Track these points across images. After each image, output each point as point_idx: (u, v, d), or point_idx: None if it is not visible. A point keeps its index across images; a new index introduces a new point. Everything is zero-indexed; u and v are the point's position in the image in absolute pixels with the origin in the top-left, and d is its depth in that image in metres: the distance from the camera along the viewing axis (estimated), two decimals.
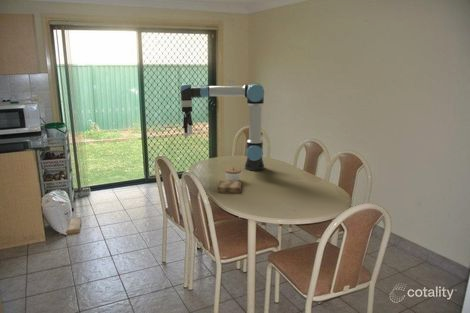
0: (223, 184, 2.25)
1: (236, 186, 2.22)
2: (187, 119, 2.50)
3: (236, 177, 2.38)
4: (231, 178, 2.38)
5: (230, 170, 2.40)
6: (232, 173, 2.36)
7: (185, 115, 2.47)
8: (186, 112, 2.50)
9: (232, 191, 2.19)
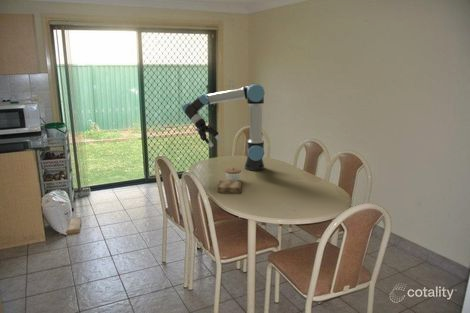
0: (223, 184, 2.25)
1: (236, 186, 2.22)
2: (203, 131, 2.44)
3: (236, 177, 2.38)
4: (231, 178, 2.38)
5: (230, 170, 2.40)
6: (232, 173, 2.36)
7: (198, 129, 2.42)
8: (199, 126, 2.45)
9: (232, 191, 2.19)
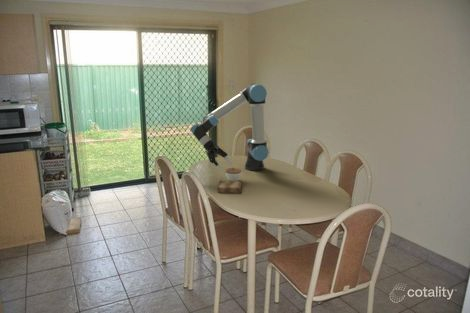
0: (223, 184, 2.25)
1: (236, 186, 2.22)
2: (212, 153, 2.40)
3: (236, 177, 2.38)
4: (231, 178, 2.38)
5: (230, 170, 2.40)
6: (232, 173, 2.36)
7: (207, 151, 2.38)
8: (208, 148, 2.41)
9: (232, 191, 2.19)
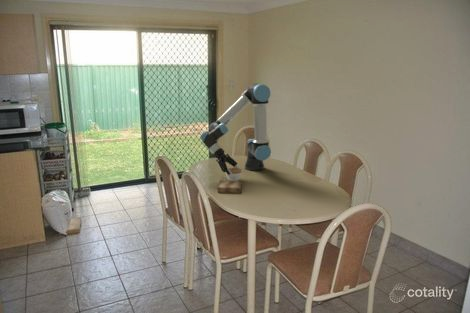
0: (223, 184, 2.25)
1: (236, 186, 2.22)
2: (223, 161, 2.39)
3: (236, 177, 2.38)
4: None
5: (230, 170, 2.40)
6: (232, 173, 2.36)
7: (217, 159, 2.37)
8: (218, 156, 2.40)
9: (232, 191, 2.19)
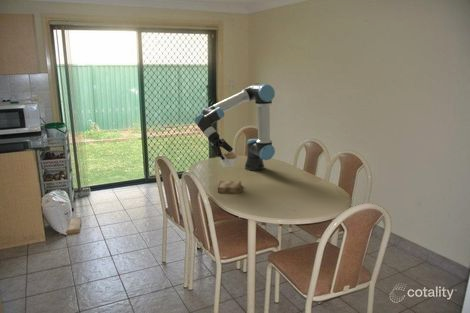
0: (223, 184, 2.25)
1: (236, 186, 2.22)
2: (217, 146, 2.26)
3: (231, 163, 2.25)
4: None
5: (225, 155, 2.27)
6: None
7: (212, 144, 2.24)
8: (212, 140, 2.27)
9: (232, 191, 2.19)
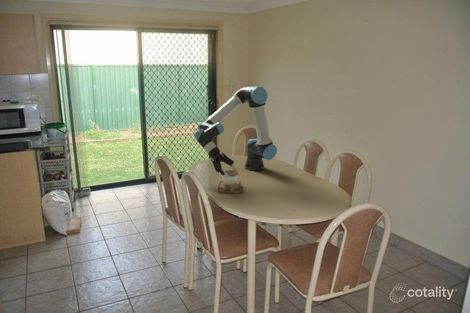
0: (223, 184, 2.25)
1: (236, 186, 2.22)
2: (218, 161, 2.21)
3: (233, 180, 2.21)
4: (227, 181, 2.21)
5: (226, 172, 2.23)
6: None
7: (212, 159, 2.20)
8: (213, 155, 2.22)
9: (232, 191, 2.19)
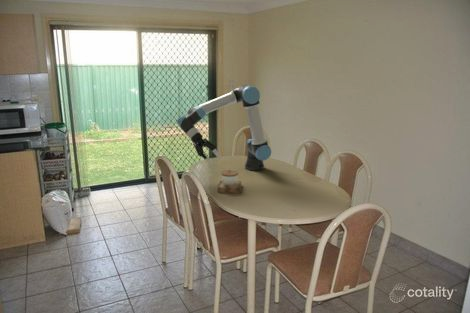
0: (223, 184, 2.25)
1: (236, 186, 2.22)
2: (200, 146, 2.31)
3: (233, 180, 2.21)
4: (227, 181, 2.21)
5: (226, 173, 2.23)
6: (228, 176, 2.19)
7: (194, 144, 2.29)
8: (195, 140, 2.32)
9: (232, 191, 2.19)
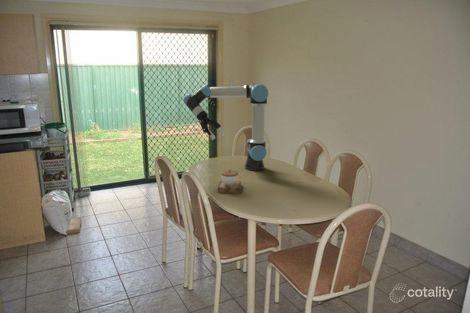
0: (223, 184, 2.25)
1: (236, 186, 2.22)
2: (205, 123, 2.38)
3: (233, 180, 2.21)
4: (227, 181, 2.21)
5: (226, 173, 2.23)
6: (228, 176, 2.19)
7: (200, 121, 2.37)
8: (201, 118, 2.40)
9: (232, 191, 2.19)
